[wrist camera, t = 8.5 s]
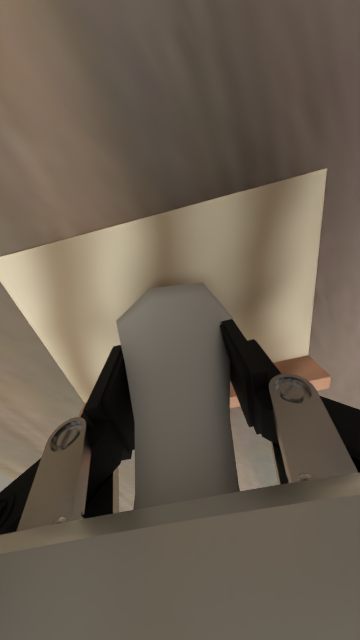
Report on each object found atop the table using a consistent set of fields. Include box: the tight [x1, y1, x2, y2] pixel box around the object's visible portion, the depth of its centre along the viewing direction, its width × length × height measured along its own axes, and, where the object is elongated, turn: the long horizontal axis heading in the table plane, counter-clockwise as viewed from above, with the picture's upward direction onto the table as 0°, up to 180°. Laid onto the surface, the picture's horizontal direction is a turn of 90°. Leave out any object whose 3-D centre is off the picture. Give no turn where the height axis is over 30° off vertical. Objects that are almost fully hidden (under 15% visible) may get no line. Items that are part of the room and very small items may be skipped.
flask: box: [116, 283, 240, 510], centre depth 7 cm, size 7×7×10 cm
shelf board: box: [0, 168, 331, 417], centre depth 13 cm, size 20×14×4 cm
